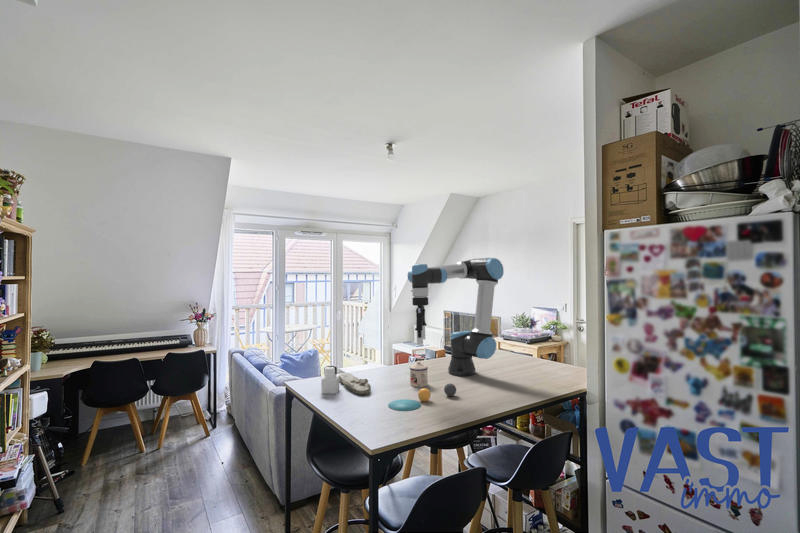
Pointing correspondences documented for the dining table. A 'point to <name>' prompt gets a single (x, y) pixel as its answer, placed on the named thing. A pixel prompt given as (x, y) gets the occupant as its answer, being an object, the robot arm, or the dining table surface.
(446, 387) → the dark grey ball
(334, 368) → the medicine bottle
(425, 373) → the teacup with lid
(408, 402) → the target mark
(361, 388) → the long grey stone
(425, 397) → the object ball
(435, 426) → the dining table surface
